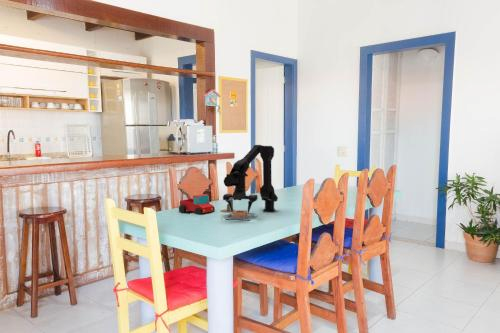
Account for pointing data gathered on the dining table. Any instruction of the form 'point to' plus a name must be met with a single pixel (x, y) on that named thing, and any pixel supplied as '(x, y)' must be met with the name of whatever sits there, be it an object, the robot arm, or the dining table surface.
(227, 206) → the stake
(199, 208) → the toy truck
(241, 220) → the tray
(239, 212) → the ring
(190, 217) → the dining table surface
